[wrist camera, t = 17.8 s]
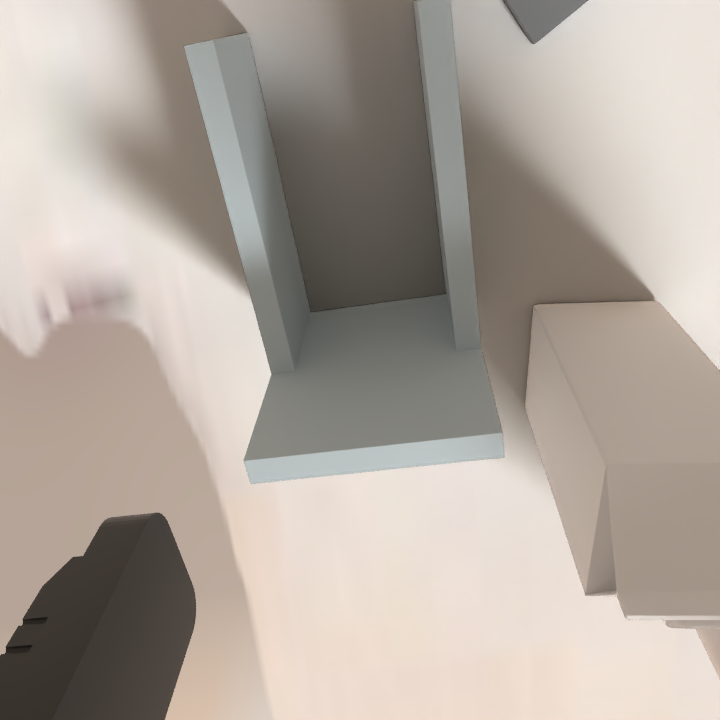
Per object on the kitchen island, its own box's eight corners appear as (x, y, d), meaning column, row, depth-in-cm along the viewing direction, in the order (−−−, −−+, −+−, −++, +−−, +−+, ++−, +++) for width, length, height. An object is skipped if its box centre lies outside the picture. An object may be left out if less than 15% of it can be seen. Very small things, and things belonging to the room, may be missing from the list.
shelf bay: (468, 310, 38) (504, 457, 26) (295, 332, 39) (250, 484, 27) (438, -4, 30) (468, -6, 18) (224, 37, 32) (117, 60, 19)
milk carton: (532, 302, 38) (641, 542, 21) (658, 299, 37) (872, 540, 21) (523, 406, 41) (611, 682, 24) (639, 403, 41) (809, 684, 24)
